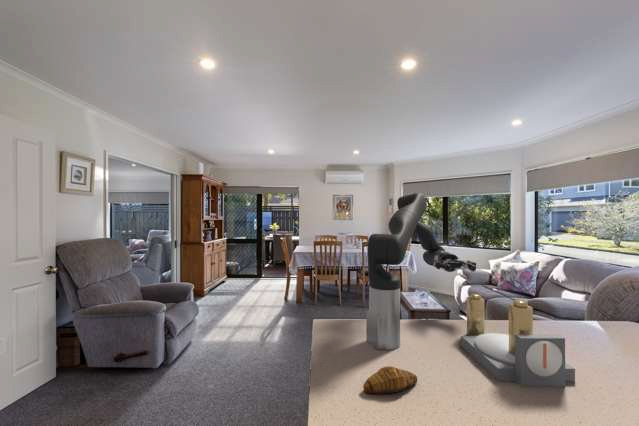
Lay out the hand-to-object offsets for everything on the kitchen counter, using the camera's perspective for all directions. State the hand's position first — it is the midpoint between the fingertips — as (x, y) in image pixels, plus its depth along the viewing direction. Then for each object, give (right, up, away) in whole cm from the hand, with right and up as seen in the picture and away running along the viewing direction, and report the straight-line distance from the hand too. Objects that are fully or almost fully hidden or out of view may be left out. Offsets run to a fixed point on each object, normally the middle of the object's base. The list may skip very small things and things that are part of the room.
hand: (461, 268), depth 104 cm
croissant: (-35, -20, -39) cm, 56 cm away
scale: (0, -20, -29) cm, 35 cm away
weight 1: (-1, -20, -11) cm, 23 cm away
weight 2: (-1, -16, -31) cm, 35 cm away
